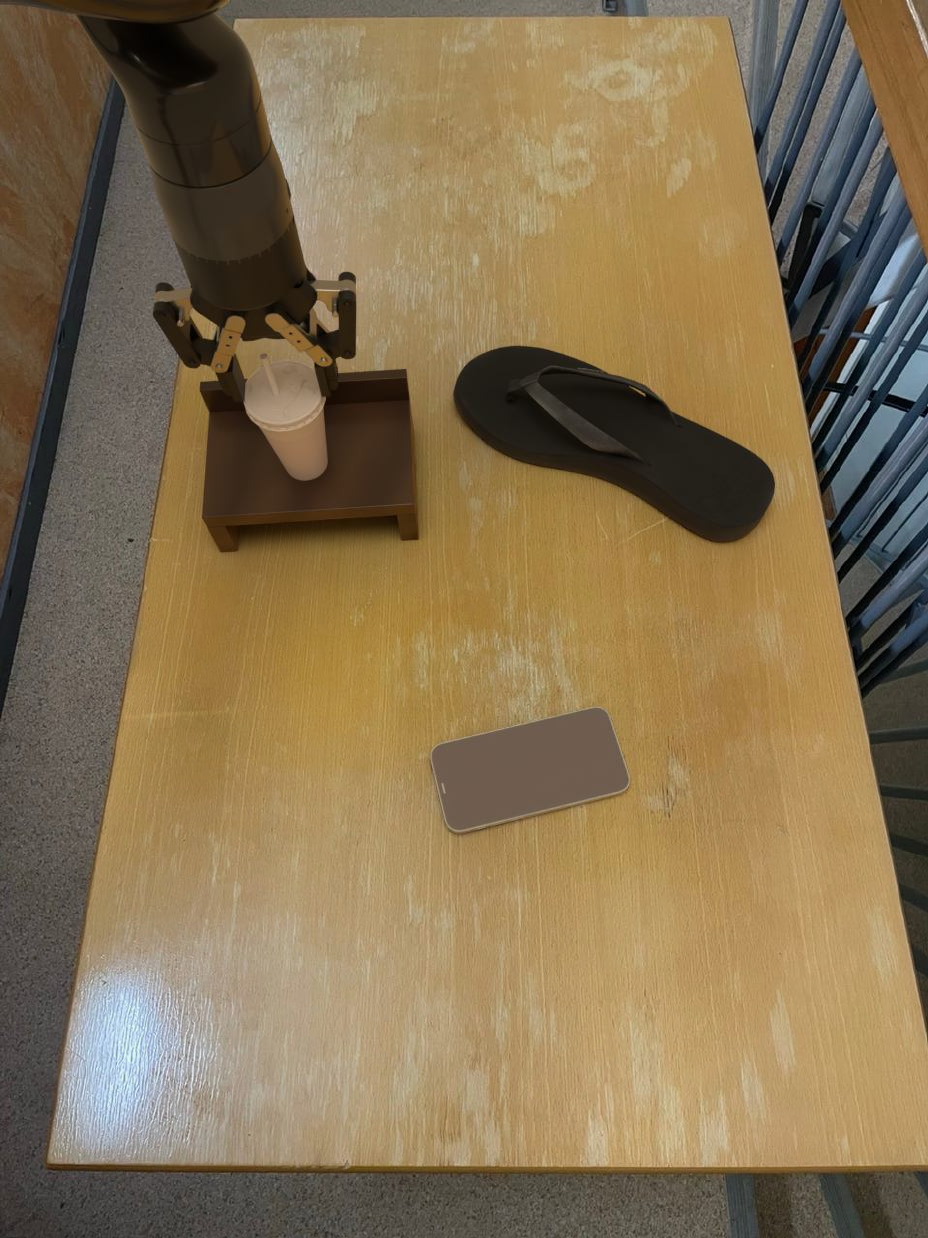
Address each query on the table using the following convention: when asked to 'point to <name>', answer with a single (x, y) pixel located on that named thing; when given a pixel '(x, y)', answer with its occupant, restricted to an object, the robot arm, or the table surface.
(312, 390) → the smoothie
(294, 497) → the shelf
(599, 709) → the smartphone
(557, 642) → the table surface
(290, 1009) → the table surface
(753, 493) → the sandal
